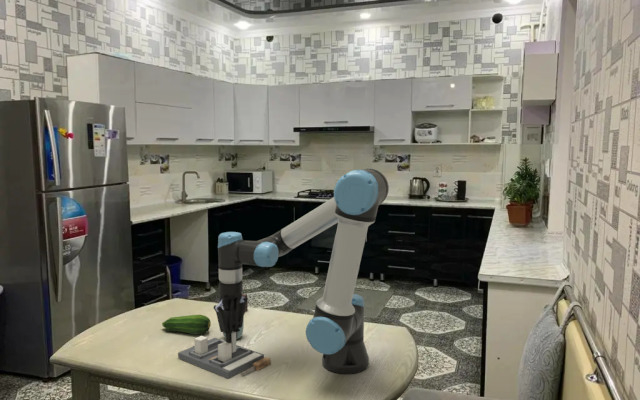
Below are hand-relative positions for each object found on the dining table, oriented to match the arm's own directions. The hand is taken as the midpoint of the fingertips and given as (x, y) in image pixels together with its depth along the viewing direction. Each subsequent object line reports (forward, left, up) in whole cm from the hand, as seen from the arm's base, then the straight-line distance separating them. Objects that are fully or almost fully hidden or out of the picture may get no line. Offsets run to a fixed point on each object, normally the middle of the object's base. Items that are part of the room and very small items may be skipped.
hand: (231, 350), depth 158 cm
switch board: (+5, 0, -4) cm, 6 cm away
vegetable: (+34, -8, -4) cm, 35 cm away
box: (+34, -36, -4) cm, 49 cm away
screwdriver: (-10, -1, -4) cm, 11 cm away
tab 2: (0, +3, -2) cm, 4 cm away
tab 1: (+10, +4, -2) cm, 11 cm away
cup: (+15, -15, -4) cm, 21 cm away
